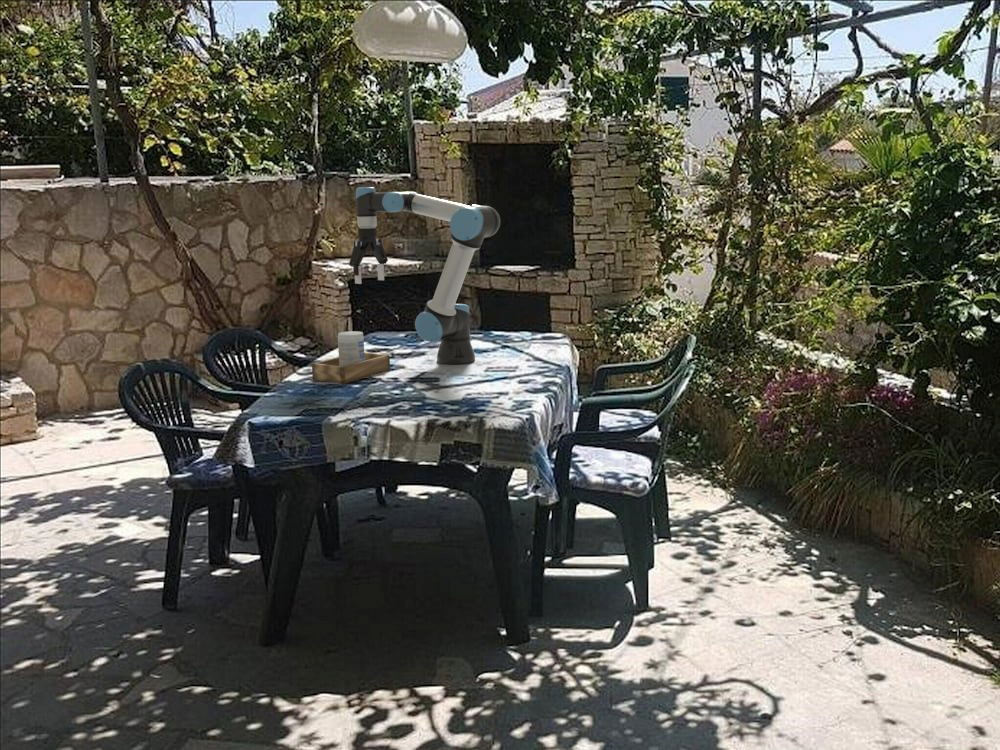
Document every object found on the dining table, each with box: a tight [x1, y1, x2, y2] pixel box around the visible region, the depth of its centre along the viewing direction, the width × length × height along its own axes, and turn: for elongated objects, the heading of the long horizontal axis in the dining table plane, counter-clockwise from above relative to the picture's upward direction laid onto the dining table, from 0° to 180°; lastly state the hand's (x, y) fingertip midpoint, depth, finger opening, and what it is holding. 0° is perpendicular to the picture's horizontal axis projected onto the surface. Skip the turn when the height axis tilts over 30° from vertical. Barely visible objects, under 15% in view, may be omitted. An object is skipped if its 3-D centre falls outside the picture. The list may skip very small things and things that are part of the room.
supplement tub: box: [337, 330, 365, 367], centre depth 327 cm, size 10×10×15 cm
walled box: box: [311, 351, 391, 385], centre depth 328 cm, size 15×26×6 cm, turn 147°
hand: (369, 282), depth 348 cm, fingers open, 13 cm apart
